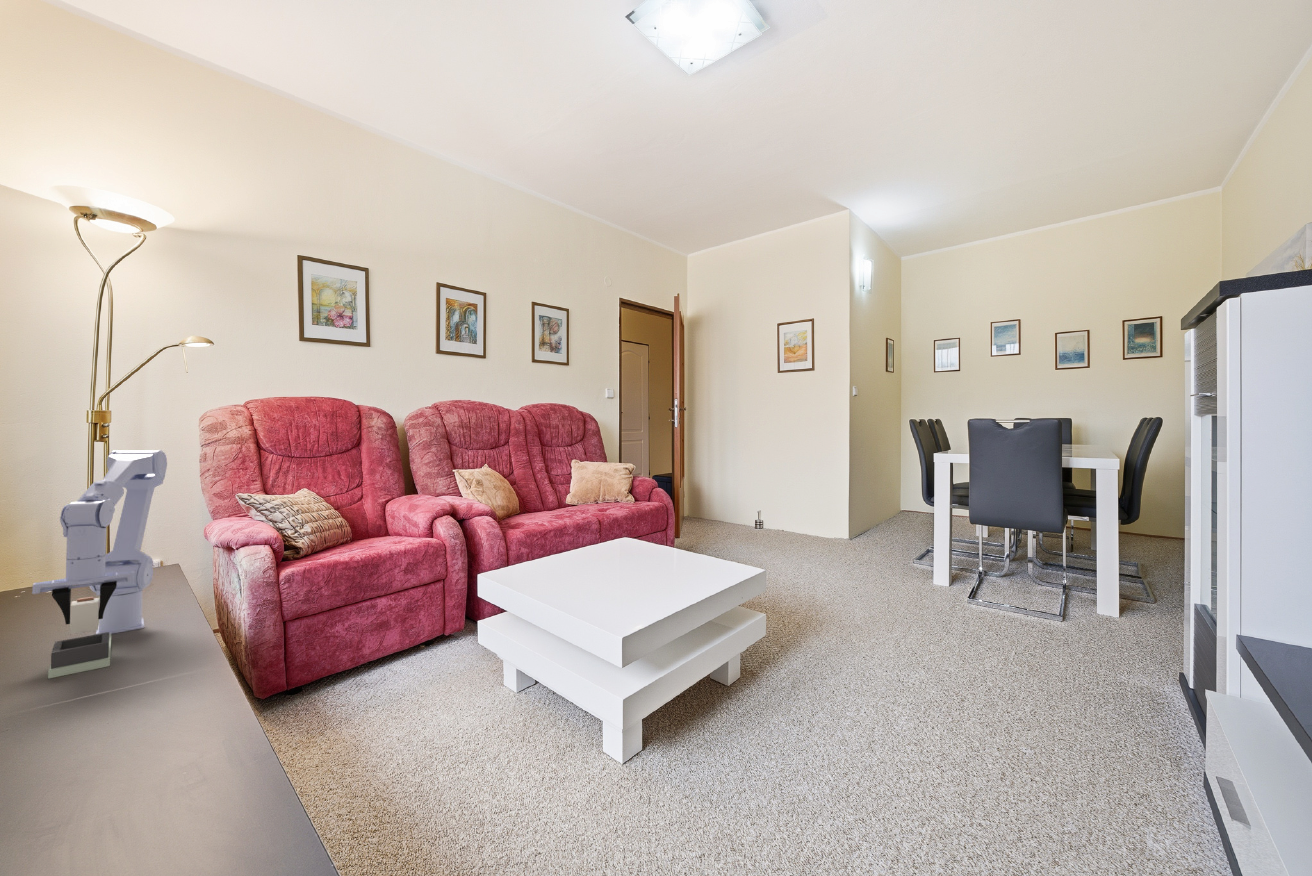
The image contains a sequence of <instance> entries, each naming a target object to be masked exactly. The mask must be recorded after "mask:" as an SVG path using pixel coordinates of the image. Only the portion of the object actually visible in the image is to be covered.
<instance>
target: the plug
mask: <svg viewBox="0 0 1312 876" xmlns="http://www.w3.org/2000/svg"><path fill="white" fill-rule="evenodd" d="M99 603H100V597H95V596H87V597H82V598H81V597H80V598H77V599H76V600H73V601H72V600H71V603H70V624H69V636H72V635H79V634H84V633H90V632H96V631H97V630H98V625H99V619H98V613H99Z"/></svg>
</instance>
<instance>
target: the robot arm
mask: <svg viewBox="0 0 1312 876" xmlns="http://www.w3.org/2000/svg"><path fill="white" fill-rule="evenodd" d="M167 467H168V461H167V455H166V453H165V452H164V451H163V450H162V449H157V450H119V449H113V450H112V451H111V452H110V453H109V454H108V455H107V458H106V468H107V472H106V474H105V476H104V477H103V479H101V480H96V481H94V482H93V483H91V484H90V486H89V487H88V488H87V489H86V490H85V491H84V493H82V495H81V496H80V497H79V498H78V499H77V500H76V501H72V502H70V503H69V504H68V503H67V504H66V505H64V506H63V507H62V510H61V512H60V516H59V521H60V525H61V527H62V535H63V538H66V550H65V551H66V552H65V557H66V559H65V577H64V578H60V579H54V580H47V581H41V582H33V584H32V592H31V593H32V595H35V594H41V593H45V592H46V593H47V592H51V597H52V598H53V600H55V602H56V604H57V605H58V607H59V608H60V611H61V612H62V614H63V617H64V621H65V625H70V606H71V603H72V600H71V599H72V589H78V588H85V587H87V588H88V587H89V590H91V591H92V592H93V593H95V596H99V613H98V619H99V625H98V630H97V631H95V634H100V633H106V632H109V634H111V635H113V634H117V633H118V634H119V633H124V632H129V631H136V630H139V629H140V630H141V629H144V628H145V622H144V621H145V620H144V617H143V590H144V589H146V588H147V587H148V586H149V585H151V582H152V580H153V576H154V569H153V566H154V559H153V558H152V557H151V556H150V555H149V554H146V552H143V551H141V549H142V545H143V540H144V535H145V533H146V532H145V530H146V526H147V521H148V517H149V512H150V508H151V504H152V498H153V495H154V492H155V491H154V490H155V488H156V487H159V486H160V485H163V483H164V480H165V477H166V474H167V473H166V472H167V469H168V468H167ZM124 489H125V490H126V493H125V490H124ZM124 493H125V496H124ZM123 496H124V502H123V506H122V509H121V514H120V518H119V523H118V527H117V532H116V534H115V535H116V536H115V539H114V542H113V548H112V550H111V551H109V552H108V553H106V552H107V550H106V549H107V527H108V526H110V524H112V521H113V517H114V514H115V511H116V509H115V506H116V505H117V504H118V502H119V501H120V500H121V499H122V497H123Z"/></svg>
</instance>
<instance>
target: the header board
mask: <svg viewBox="0 0 1312 876" xmlns="http://www.w3.org/2000/svg"><path fill="white" fill-rule="evenodd" d="M111 646H112V634H109V632H106V633H100V634H96V633H95V634H92V635H85V636H79V637H75V638H74V637H73V638H69V639H68V638H67V639H63V640H57V641H54V644H53V646H52V649H51V654H50V663H49V668H48V669H47V670H48V671H47V678H48V680H49V679H53V678H58V677H62V676H67V675H71V674H78V673H81V672H83V673H84V672H86V671H87V672H88V671H93V670H96V669H102V668H106V667H110V666H111V650H112V649H111V648H112V647H111Z"/></svg>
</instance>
